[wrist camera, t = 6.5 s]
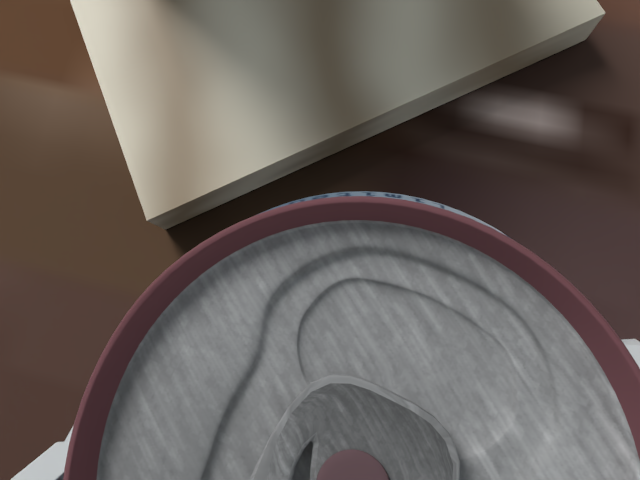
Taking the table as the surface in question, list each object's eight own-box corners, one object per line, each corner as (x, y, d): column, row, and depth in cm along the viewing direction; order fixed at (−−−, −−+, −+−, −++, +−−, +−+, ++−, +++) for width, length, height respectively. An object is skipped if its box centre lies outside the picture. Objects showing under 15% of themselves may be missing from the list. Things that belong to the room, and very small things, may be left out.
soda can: (318, 245, 17) (202, 51, 5) (497, 325, 16) (882, 309, 4) (236, 420, 16) (-138, 671, 4) (418, 519, 15) (615, 1277, 3)
